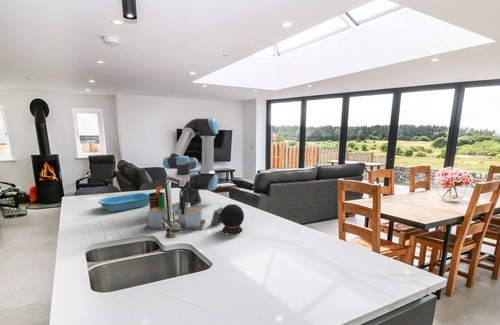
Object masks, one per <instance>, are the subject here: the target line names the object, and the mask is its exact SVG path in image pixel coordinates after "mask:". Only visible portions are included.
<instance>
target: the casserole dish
mask: <svg viewBox="0 0 500 325" xmlns="http://www.w3.org/2000/svg"><path fill="white" fill-rule="evenodd" d="M98 203H99V204H100V205H101V207H102V208H103V209H104V210H105V211H107V212H110V213H115V212H121V211H126V210H127V211H128V210H132V209H137V208H142V207H146V206H148V205H150V203H149V193H147V192H146V193H145V192H138V193H137V192H135V193H129V194H123V195H116V196H115V195H114V196H111V197H110V196H109V197H104V198H101V199H99V201H98Z"/></svg>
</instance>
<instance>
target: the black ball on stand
mask: <svg viewBox="0 0 500 325" xmlns="http://www.w3.org/2000/svg"><path fill="white" fill-rule="evenodd" d="M220 218H221V223H222V225H223V228H222V230H221V231H223V232H224V233H223V232H222V233H223V234H225V233H228V234H227V235H229V234H234V235H238V234H237V233H239V234H241V233H243V228H242V227H241V225H242V224H243V222H244V218H245V214H244V211H243V208H241V206H239V205H237V204H234V203H229V204H228V205H225V206H224V207H223V209H222V211H221V214H220ZM240 232H241V233H240Z"/></svg>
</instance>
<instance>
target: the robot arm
mask: <svg viewBox="0 0 500 325" xmlns="http://www.w3.org/2000/svg"><path fill="white" fill-rule="evenodd" d="M219 130H220V129H219V124H218V122H217V119H215V118H194V119H191V120H190V121H189V122H187V123H186V124H185V125H184V127H183V128H182V130H181V132H182V133H181V135H180V137H179V139H178V141H177V142H176V144H175V146H174V147H173V150H172V152H171V153H170V155H169V156H168V157H166V156H165V157H164V158H163V160H162V165H163V167H164V168H165V169H170V170H176V176H175V177H176V179H177V178H183V179H185V180H186V181H187V183H186V186H184V187H180V186H178V185H177V188H178V189H180V190H179V193H178V195H179V203H180V208H179V209H181V219H186V218H185V203H190V206H191V205H198V204H200V203H202V197H201V195H200V192H199V191H215V190H216V189H217V187H218V183H219V176H218V175H217V174H216V171H215V170H214V161H215V160H214V156H215V154H214V152H215V151H214V150H215V149H214V147H215V146H214V144H215V142H214V140H215V138H216V135H218V134H219ZM196 135H199V137H200V138H201V140H202V141H201V142H202V143H201V170H200V172H197V171H195V172H191V170H194V169H195V168H197V167H198V166H199V161H198V159H197V158H196V157H192V156H191V157H189V156H188V155H184V154H185V152H186V151H187V149H188V146H189V144H190V142H191V140H192V138H194V137H195V136H196Z"/></svg>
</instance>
